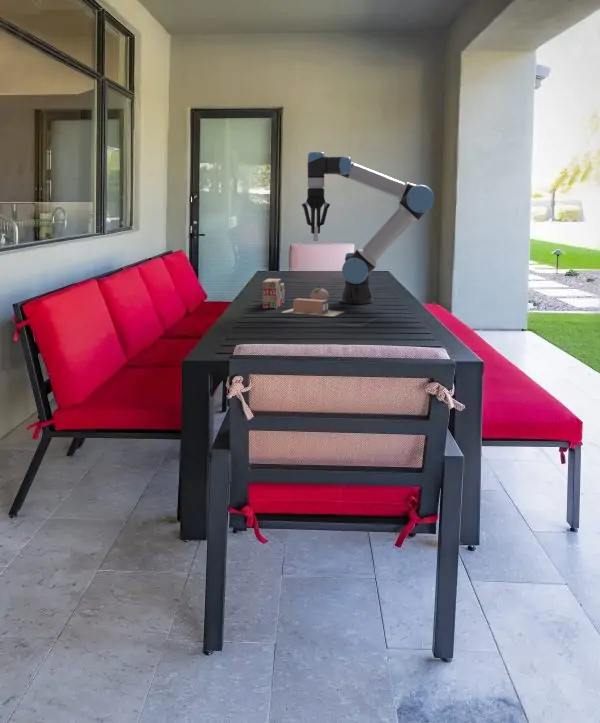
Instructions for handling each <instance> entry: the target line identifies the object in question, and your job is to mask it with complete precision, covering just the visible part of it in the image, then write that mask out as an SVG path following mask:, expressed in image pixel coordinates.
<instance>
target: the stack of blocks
mask: <svg viewBox="0 0 600 723" xmlns="http://www.w3.org/2000/svg"><path fill="white" fill-rule="evenodd" d="M285 295H286V294H285V283H284V282H282V278H267V279H265V280H263V281H262V309H266V308H276V309H278V308H279V307H280V306H282V303H283V304H284V303H285V301H286V300H285ZM278 306H279V307H278ZM277 307H278V308H277Z"/></svg>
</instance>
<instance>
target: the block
mask: <svg viewBox="0 0 600 723" xmlns="http://www.w3.org/2000/svg"><path fill="white" fill-rule="evenodd" d="M292 302H293V303H292V306H293V307H292V309H293V311H296V312H310V313H323V314H324V313H327V312H328V311H329V300H316V299H310V298H300V297H298V298H295V299H293V301H292Z"/></svg>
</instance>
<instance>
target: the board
mask: <svg viewBox="0 0 600 723" xmlns="http://www.w3.org/2000/svg"><path fill="white" fill-rule="evenodd" d="M281 313H283V314H284V313H285V314H296V315H297V314H298V315H307V316H308V315H311V316H320V317H321V316H323V317H324V316H325V317H337V316H340V314H344V313H345V311H339V310H328V312H327V313H324V314H323V313H310V312H296V311H293V308H290V309H286V310H283V311H281V312H280V314H281Z"/></svg>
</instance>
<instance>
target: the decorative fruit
mask: <svg viewBox="0 0 600 723" xmlns="http://www.w3.org/2000/svg"><path fill="white" fill-rule="evenodd" d="M309 299H316V300H328V301H329V300H330V295H329V292H328V291H327V290H326V289H325V288H324V287H320V285H318V288H314V289H313V290H312V291H311V292H310V294H309Z"/></svg>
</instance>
